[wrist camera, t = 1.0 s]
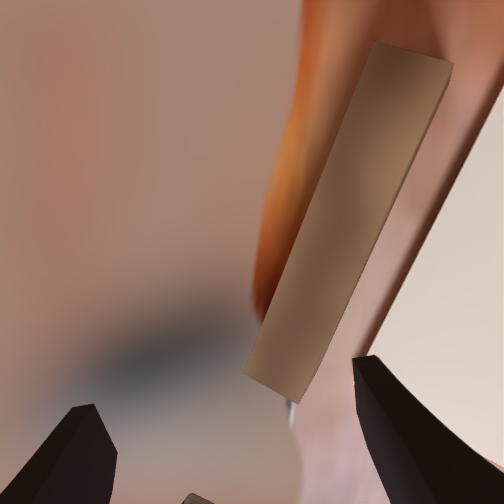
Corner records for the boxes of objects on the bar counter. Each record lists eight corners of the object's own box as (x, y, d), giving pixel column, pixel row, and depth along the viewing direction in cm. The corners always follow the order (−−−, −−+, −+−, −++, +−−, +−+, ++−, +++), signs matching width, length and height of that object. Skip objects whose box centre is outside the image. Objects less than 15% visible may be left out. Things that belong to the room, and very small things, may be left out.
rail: (448, 85, 21) (453, 63, 17) (317, 369, 27) (298, 404, 22) (383, 66, 22) (374, 41, 18) (269, 344, 28) (243, 372, 23)
